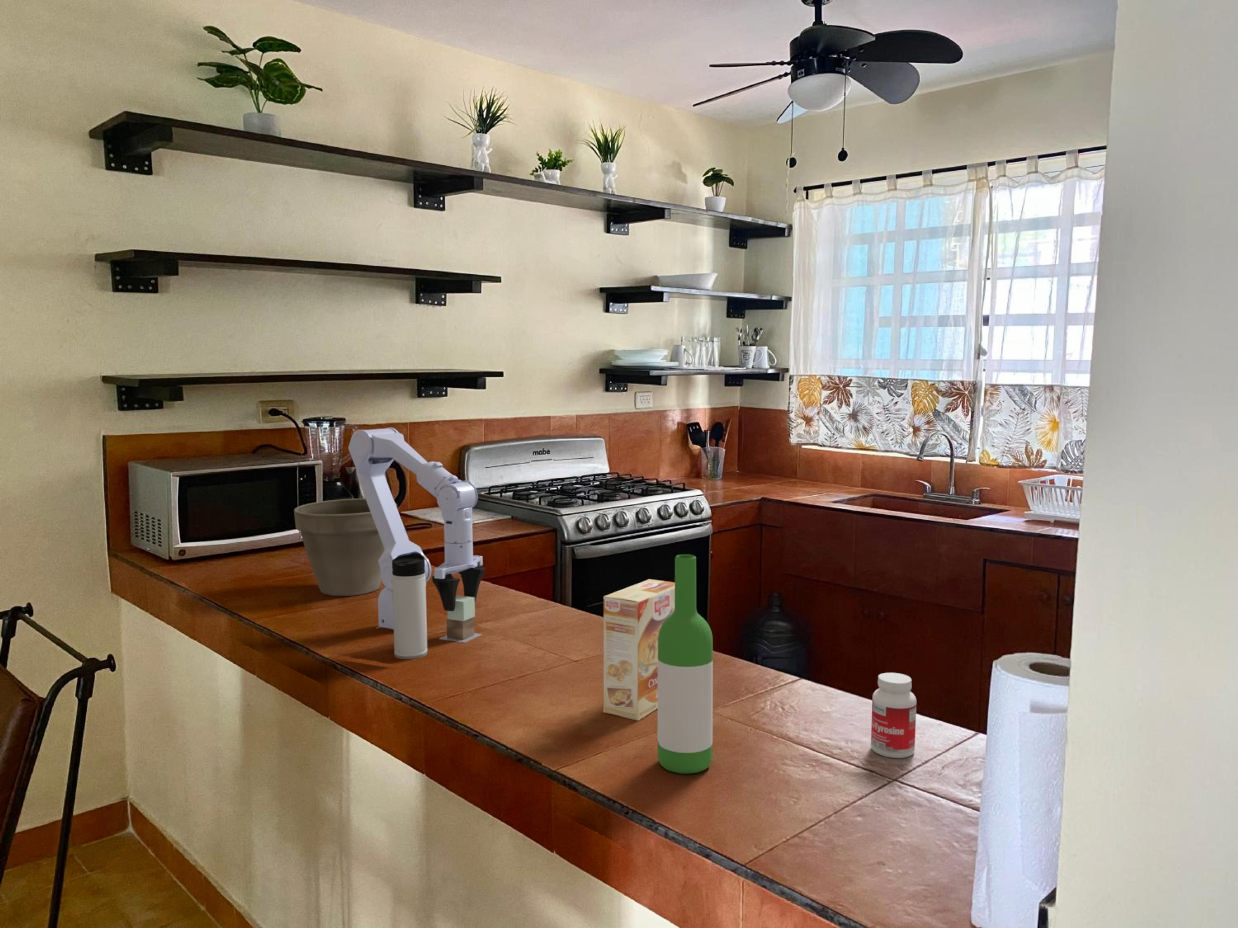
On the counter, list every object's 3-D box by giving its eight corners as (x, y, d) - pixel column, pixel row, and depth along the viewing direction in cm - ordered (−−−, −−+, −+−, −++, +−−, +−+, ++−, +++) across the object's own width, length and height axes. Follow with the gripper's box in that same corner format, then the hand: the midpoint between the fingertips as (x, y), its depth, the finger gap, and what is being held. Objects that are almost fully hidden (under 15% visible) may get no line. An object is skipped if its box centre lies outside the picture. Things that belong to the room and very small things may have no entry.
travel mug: (434, 653, 184) (431, 553, 182) (416, 663, 178) (413, 560, 176) (406, 650, 186) (403, 551, 184) (388, 660, 180) (385, 558, 178)
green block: (447, 618, 192) (447, 599, 192) (458, 614, 196) (458, 595, 195) (463, 621, 190) (463, 601, 190) (474, 616, 194) (474, 597, 193)
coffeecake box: (639, 721, 149) (638, 601, 147) (601, 712, 152) (600, 595, 150) (683, 693, 161) (683, 582, 159) (647, 686, 165) (647, 577, 163)
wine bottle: (708, 752, 136) (709, 550, 133) (716, 775, 129) (717, 561, 126) (655, 753, 136) (655, 550, 133) (659, 776, 128) (659, 562, 125)
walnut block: (447, 637, 192) (446, 618, 192) (458, 632, 196) (457, 614, 196) (463, 640, 191) (462, 620, 190) (474, 634, 194) (473, 616, 194)
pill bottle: (863, 751, 137) (865, 678, 135) (881, 738, 141) (883, 667, 140) (904, 763, 133) (906, 687, 131) (921, 749, 137) (923, 676, 136)
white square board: (419, 643, 191) (419, 640, 191) (453, 628, 201) (453, 625, 201) (468, 651, 186) (468, 647, 186) (501, 635, 196) (500, 632, 196)
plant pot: (322, 607, 220) (319, 516, 218) (281, 589, 238) (278, 504, 236) (417, 590, 236) (415, 505, 234) (372, 574, 255) (369, 495, 253)
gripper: (454, 548, 183) (455, 616, 185) (494, 536, 196) (495, 599, 198) (424, 546, 186) (426, 612, 187) (466, 534, 199) (467, 596, 201)
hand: (460, 606), depth 193 cm, fingers open, 7 cm apart
